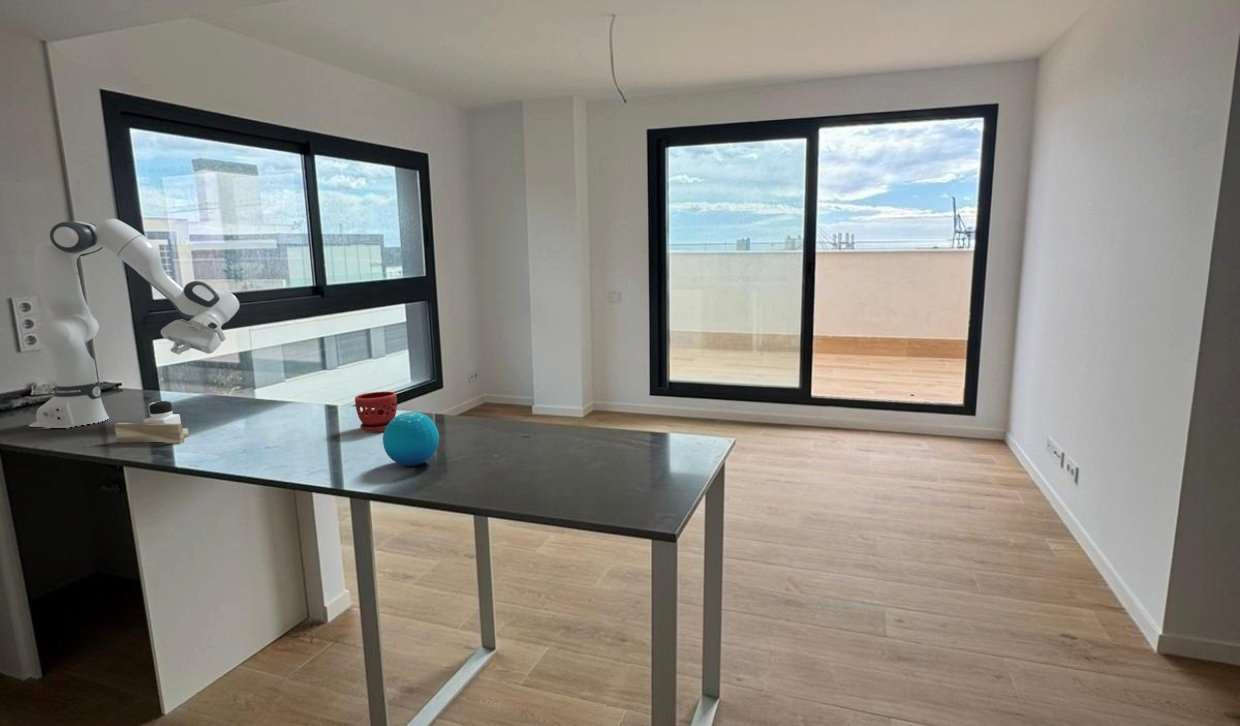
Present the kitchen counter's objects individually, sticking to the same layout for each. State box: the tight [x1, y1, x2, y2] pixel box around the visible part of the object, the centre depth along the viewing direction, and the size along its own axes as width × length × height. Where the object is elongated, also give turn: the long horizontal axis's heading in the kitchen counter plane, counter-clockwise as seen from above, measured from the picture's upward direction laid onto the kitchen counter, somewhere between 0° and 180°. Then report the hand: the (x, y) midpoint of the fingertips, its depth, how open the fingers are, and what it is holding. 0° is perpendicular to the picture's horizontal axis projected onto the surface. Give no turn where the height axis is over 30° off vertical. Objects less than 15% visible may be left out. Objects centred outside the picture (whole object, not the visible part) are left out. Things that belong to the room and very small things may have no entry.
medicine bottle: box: [142, 400, 182, 424], centre depth 209 cm, size 7×7×12 cm
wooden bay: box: [113, 422, 190, 444], centre depth 208 cm, size 8×22×6 cm, turn 84°
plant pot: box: [354, 391, 398, 433], centre depth 216 cm, size 13×13×12 cm
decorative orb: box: [382, 411, 440, 467], centre depth 178 cm, size 15×15×15 cm
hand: (174, 352), depth 226 cm, fingers closed
